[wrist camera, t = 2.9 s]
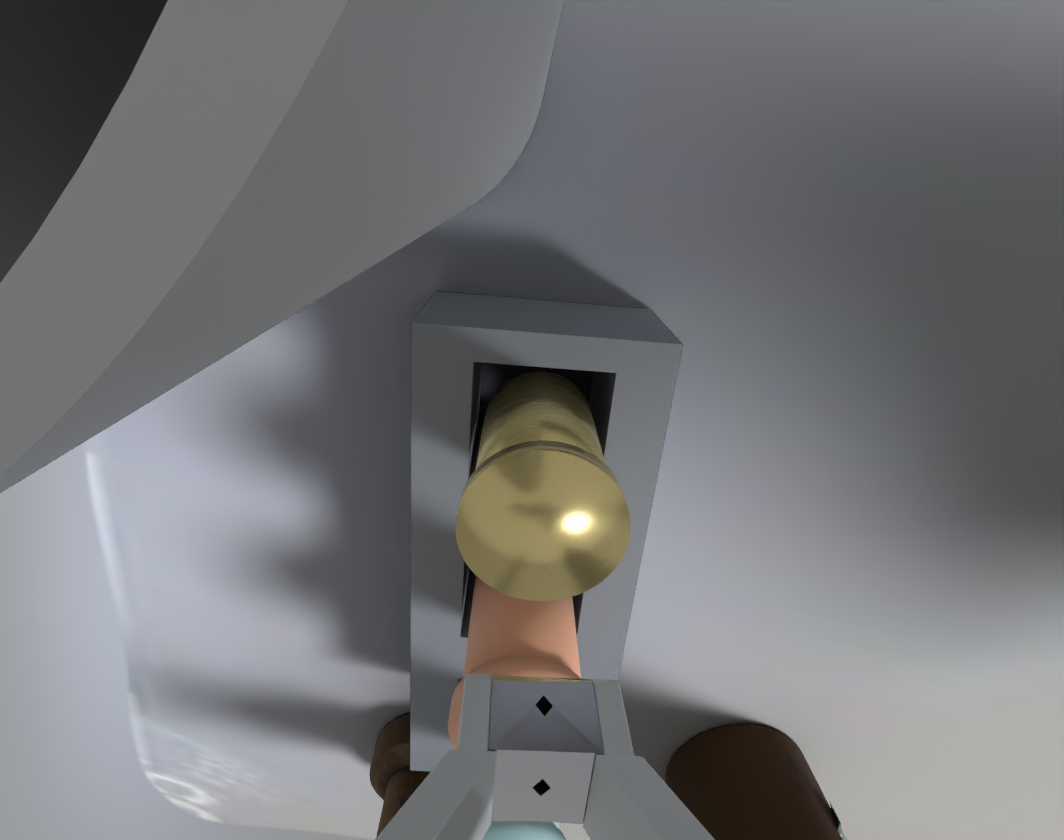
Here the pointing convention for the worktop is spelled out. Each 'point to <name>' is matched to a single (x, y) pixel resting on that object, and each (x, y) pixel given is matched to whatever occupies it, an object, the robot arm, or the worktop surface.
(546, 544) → the plug
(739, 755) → the olive oil
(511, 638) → the plug
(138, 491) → the worktop surface
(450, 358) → the grey plug holder block
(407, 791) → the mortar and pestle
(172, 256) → the cylinder vase
